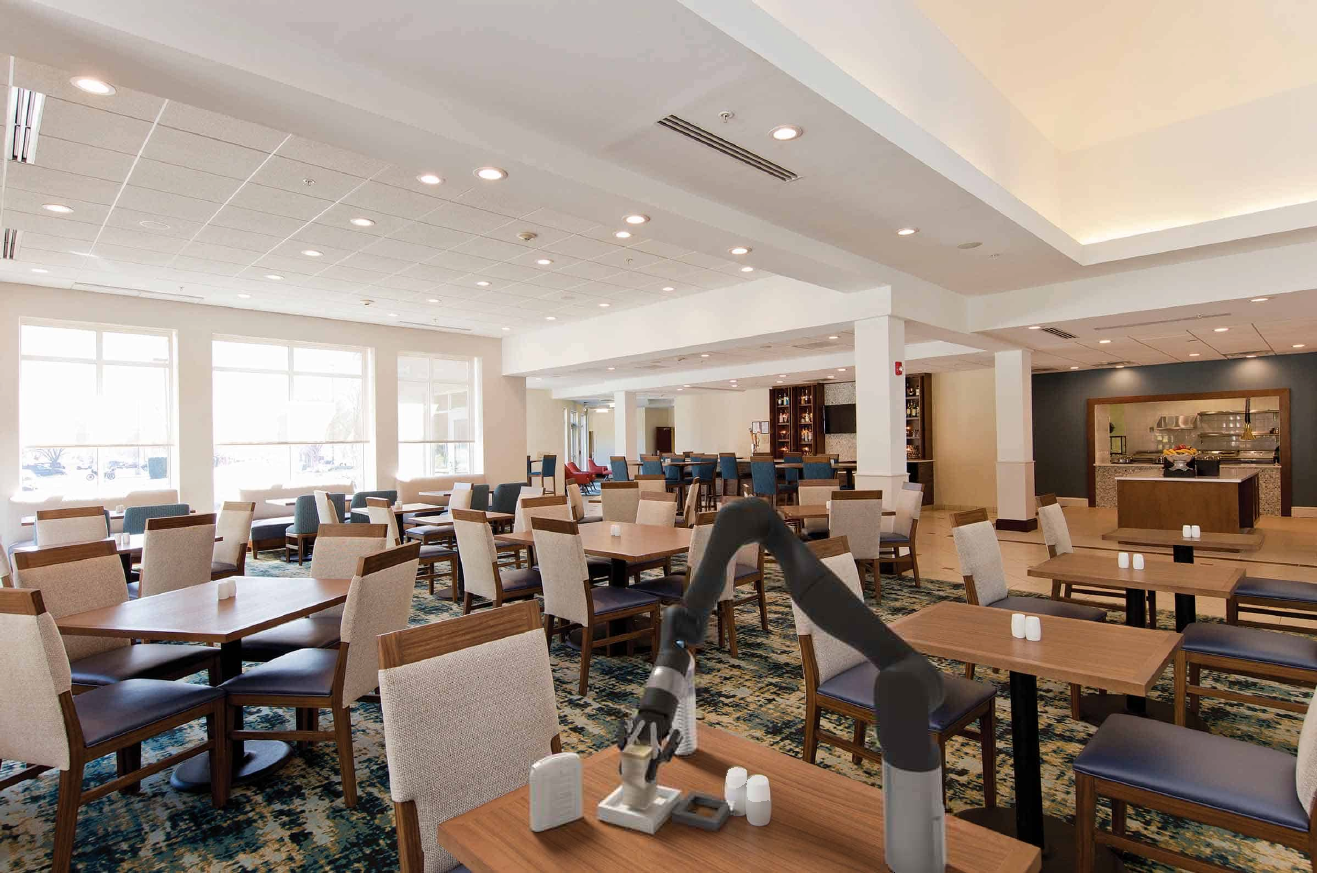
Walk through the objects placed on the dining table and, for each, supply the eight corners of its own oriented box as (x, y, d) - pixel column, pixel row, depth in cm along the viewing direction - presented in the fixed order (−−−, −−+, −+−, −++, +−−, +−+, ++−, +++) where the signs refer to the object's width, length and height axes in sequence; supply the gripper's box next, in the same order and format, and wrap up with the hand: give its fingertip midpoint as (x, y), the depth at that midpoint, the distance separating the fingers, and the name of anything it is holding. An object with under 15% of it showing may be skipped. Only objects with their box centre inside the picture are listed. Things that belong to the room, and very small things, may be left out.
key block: (657, 798, 132) (656, 746, 132) (645, 810, 128) (644, 756, 128) (635, 792, 134) (634, 741, 135) (622, 804, 130) (621, 751, 130)
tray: (681, 803, 133) (681, 790, 133) (653, 834, 123) (652, 820, 123) (629, 791, 139) (628, 778, 139) (597, 819, 128) (597, 805, 128)
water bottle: (662, 747, 159) (660, 640, 160) (688, 742, 162) (685, 636, 163) (675, 759, 153) (672, 647, 154) (702, 753, 156) (699, 643, 157)
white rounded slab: (576, 808, 132) (575, 744, 133) (586, 818, 129) (585, 752, 129) (526, 825, 127) (525, 758, 127) (535, 836, 123) (534, 767, 124)
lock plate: (734, 808, 131) (733, 800, 131) (716, 832, 123) (715, 823, 123) (691, 798, 135) (691, 791, 135) (671, 820, 127) (671, 812, 127)
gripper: (625, 681, 141) (595, 763, 130) (687, 690, 135) (661, 778, 124) (638, 698, 146) (610, 779, 135) (699, 708, 139) (674, 794, 128)
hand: (635, 778), depth 129 cm, fingers closed on key block, 4 cm apart
